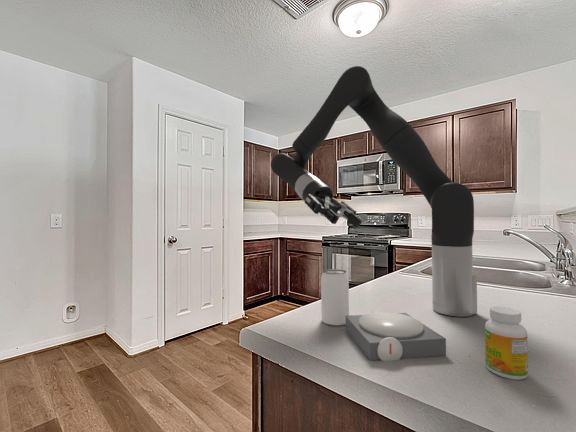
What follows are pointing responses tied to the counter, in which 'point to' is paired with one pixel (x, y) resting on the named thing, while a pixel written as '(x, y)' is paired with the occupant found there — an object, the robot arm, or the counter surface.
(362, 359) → the counter surface
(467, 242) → the robot arm
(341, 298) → the can
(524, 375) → the supplement bottle
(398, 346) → the scale
